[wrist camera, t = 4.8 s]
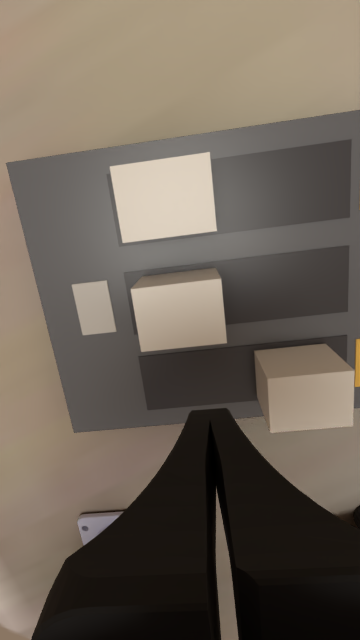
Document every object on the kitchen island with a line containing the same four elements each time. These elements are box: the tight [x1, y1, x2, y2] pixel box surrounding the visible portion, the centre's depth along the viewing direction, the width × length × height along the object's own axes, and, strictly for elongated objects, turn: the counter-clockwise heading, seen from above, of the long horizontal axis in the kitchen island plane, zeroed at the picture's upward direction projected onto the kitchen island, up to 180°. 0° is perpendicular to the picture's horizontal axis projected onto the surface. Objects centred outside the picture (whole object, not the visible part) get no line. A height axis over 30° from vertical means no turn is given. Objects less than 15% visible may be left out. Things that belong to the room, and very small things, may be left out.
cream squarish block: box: [110, 152, 217, 243], centre depth 15 cm, size 3×4×4 cm
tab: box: [131, 268, 227, 352], centre depth 16 cm, size 3×4×4 cm
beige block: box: [254, 344, 355, 433], centre depth 17 cm, size 3×4×4 cm
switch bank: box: [6, 110, 360, 433], centre depth 19 cm, size 16×20×2 cm
